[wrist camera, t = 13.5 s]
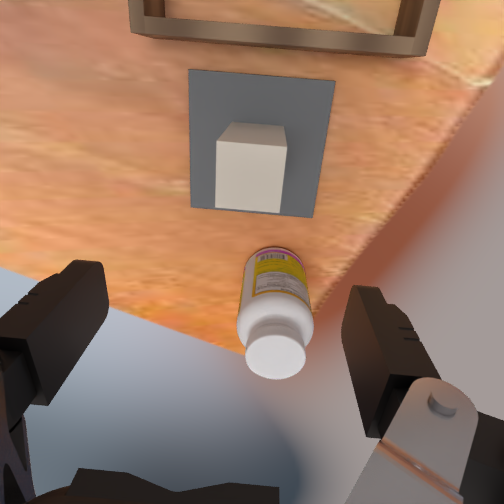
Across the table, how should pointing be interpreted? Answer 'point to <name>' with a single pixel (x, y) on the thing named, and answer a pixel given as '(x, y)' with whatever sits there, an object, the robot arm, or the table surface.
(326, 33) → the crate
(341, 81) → the table surface
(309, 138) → the mat
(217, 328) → the table surface
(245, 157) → the block
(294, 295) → the supplement bottle
